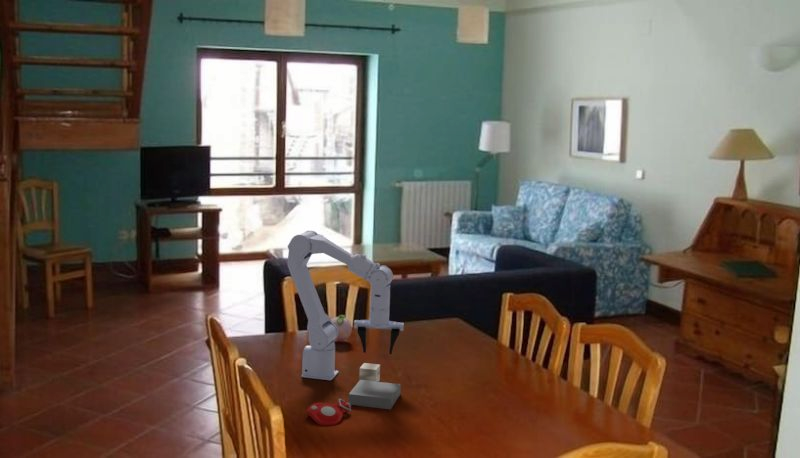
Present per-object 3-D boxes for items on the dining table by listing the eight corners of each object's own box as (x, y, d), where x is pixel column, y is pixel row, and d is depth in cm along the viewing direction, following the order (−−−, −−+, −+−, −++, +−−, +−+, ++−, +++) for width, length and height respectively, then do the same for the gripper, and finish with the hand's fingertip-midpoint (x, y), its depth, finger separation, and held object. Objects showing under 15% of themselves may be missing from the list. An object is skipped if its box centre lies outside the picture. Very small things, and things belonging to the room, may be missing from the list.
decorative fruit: (327, 338, 281) (327, 310, 279) (350, 338, 282) (351, 310, 280) (327, 346, 272) (328, 317, 270) (351, 346, 273) (352, 317, 271)
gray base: (348, 404, 221) (348, 393, 220) (360, 389, 232) (360, 379, 232) (390, 409, 218) (391, 398, 218) (400, 394, 230) (400, 384, 229)
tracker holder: (336, 425, 204) (301, 410, 207) (333, 438, 206) (299, 423, 209) (355, 399, 215) (322, 385, 217) (353, 412, 217) (320, 398, 219)
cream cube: (359, 384, 237) (359, 368, 236) (363, 378, 242) (364, 362, 241) (375, 386, 236) (376, 369, 235) (379, 380, 241) (380, 364, 240)
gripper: (353, 310, 231) (352, 355, 233) (404, 312, 231) (401, 357, 233) (355, 303, 238) (354, 347, 240) (404, 306, 238) (402, 350, 240)
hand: (377, 352), depth 237 cm, fingers open, 7 cm apart
